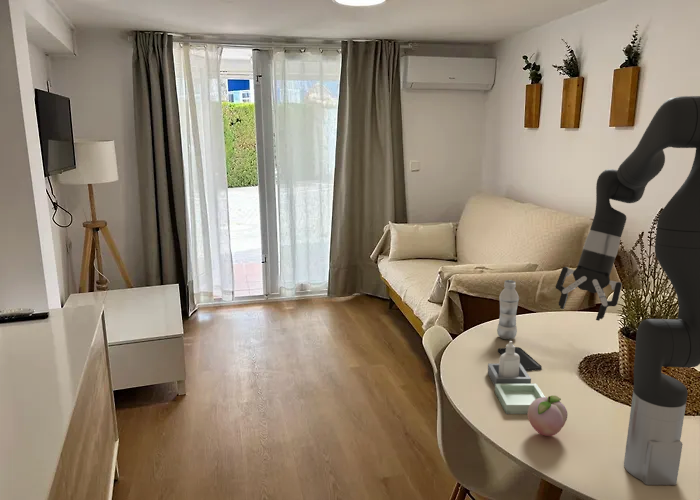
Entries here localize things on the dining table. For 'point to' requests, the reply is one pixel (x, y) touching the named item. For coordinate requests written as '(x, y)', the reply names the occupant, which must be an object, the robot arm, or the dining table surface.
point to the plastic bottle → (508, 311)
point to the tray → (517, 397)
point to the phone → (524, 359)
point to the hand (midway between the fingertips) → (579, 314)
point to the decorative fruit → (547, 415)
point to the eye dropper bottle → (509, 362)
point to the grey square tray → (522, 379)
